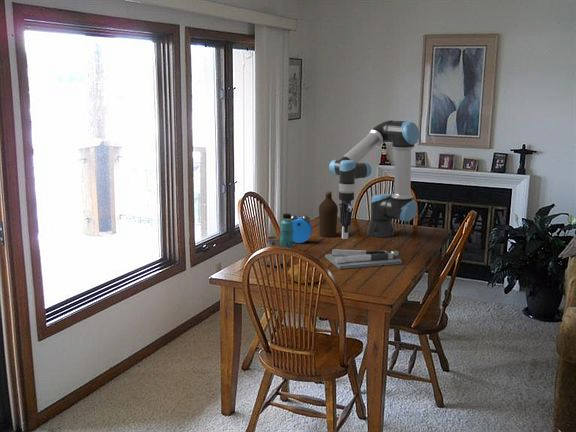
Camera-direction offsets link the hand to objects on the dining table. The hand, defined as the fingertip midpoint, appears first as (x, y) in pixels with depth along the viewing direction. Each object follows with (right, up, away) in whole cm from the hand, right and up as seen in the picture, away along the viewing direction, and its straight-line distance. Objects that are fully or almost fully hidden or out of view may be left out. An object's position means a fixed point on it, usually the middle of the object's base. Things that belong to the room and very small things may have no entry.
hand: (344, 238), depth 305 cm
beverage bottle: (-29, -7, +7) cm, 31 cm away
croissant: (-21, -17, -36) cm, 45 cm away
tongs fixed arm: (+10, -10, -12) cm, 18 cm away
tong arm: (+7, -8, -5) cm, 11 cm away
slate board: (+8, -11, -7) cm, 15 cm away
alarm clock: (-22, -3, +26) cm, 34 cm away
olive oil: (-6, 0, +41) cm, 41 cm away
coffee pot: (-35, -13, -18) cm, 42 cm away
